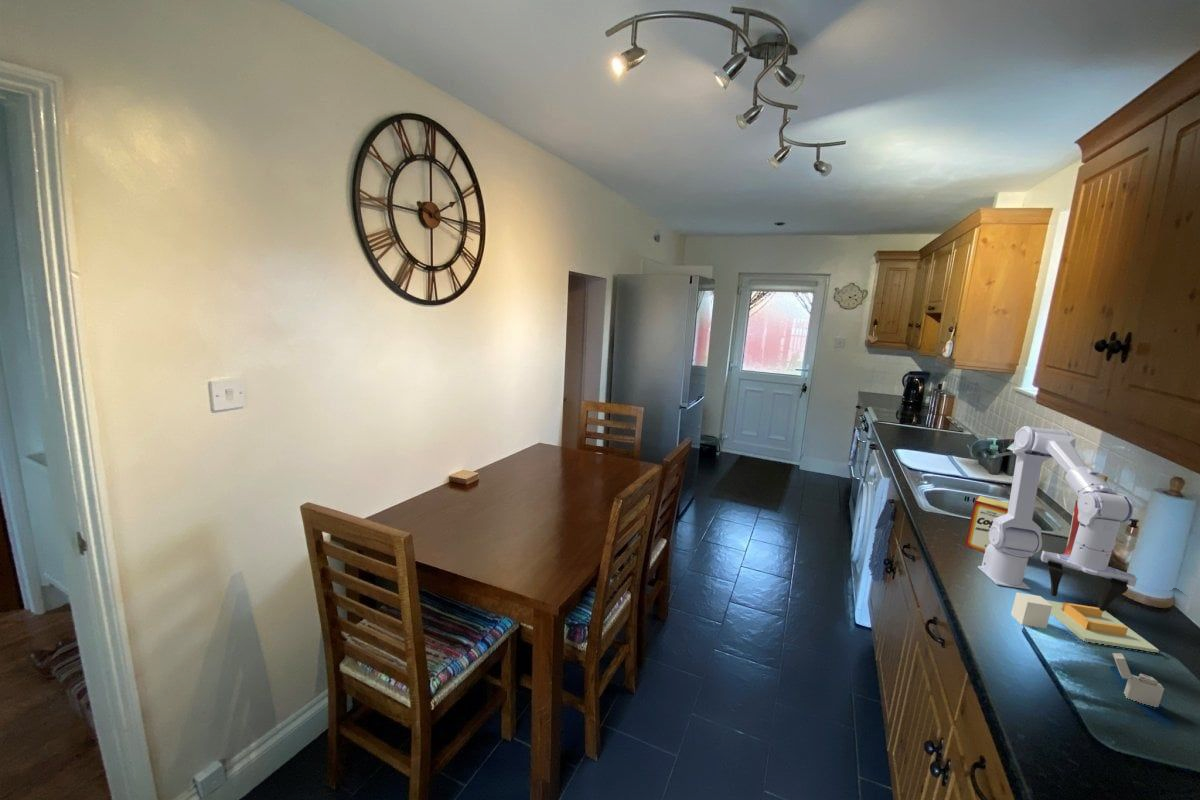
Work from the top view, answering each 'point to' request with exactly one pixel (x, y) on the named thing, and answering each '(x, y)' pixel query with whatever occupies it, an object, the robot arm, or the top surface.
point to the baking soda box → (983, 521)
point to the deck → (1098, 626)
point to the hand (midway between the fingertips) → (1076, 601)
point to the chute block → (1031, 610)
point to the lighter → (1139, 684)
